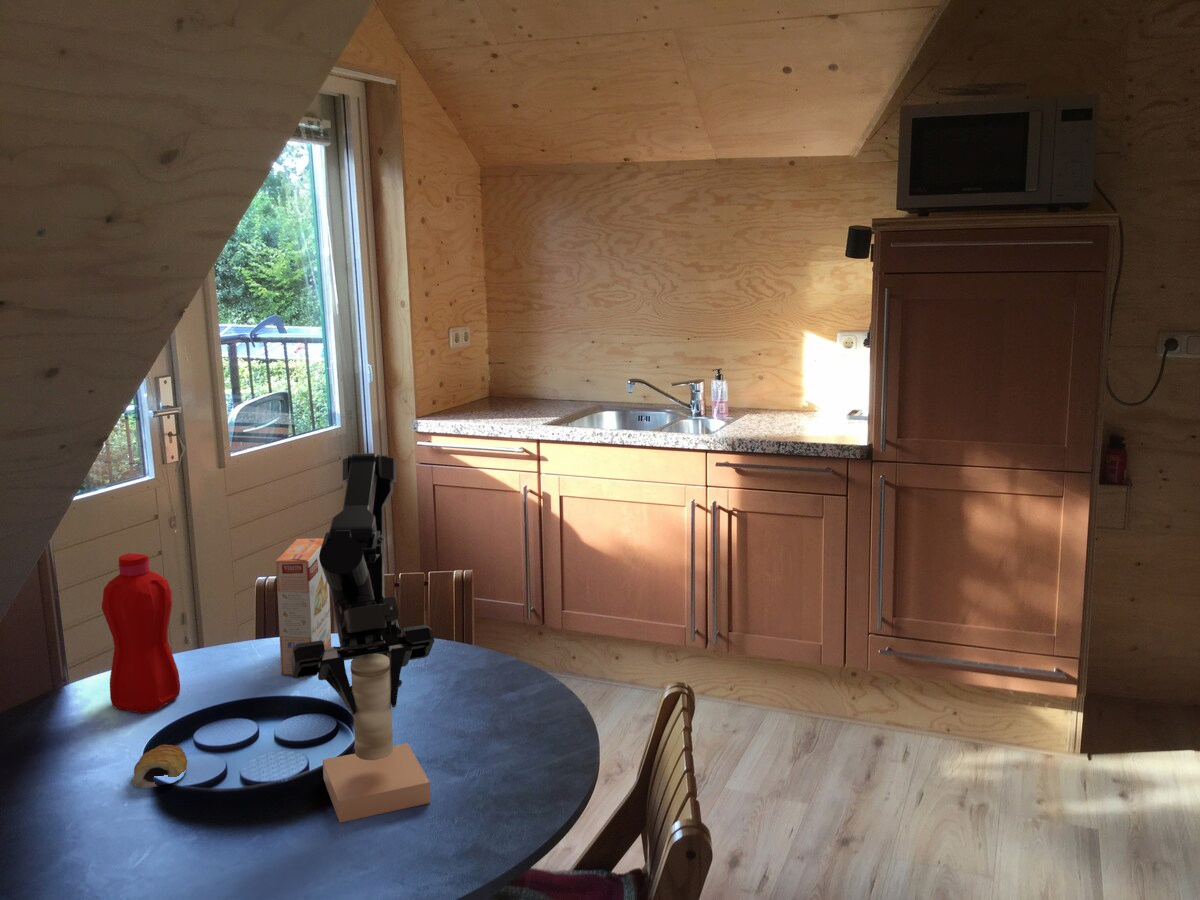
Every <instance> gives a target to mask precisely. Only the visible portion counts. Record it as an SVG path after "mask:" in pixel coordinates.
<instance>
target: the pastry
mask: <svg viewBox="0 0 1200 900" xmlns="http://www.w3.org/2000/svg"><path fill="white" fill-rule="evenodd" d="M187 767H188V758H187V755H186V753H185V752H184V749H183V748H182V747H181V746H180V745H178V744H177V745H173V744H160V745H158V746H156V747H155V748H152V749H150V750H149V751H147V752H144V754H143V755H141V757H140V758H139V760H138V762H136V764H135V766H134V768H133V775H134V776H133V778H132V784H133V785H134V786H136V788H138V789H141V788H142V789H150V788H155V787H158V786H157V785H156V784H155V782H154V780H153V777H154V776H164V775H168V777H177V776H179V775H180V774H181V773H182V772H184V771H185V770H186V769H187ZM186 771H187V770H186Z"/></svg>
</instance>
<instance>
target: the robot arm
mask: <svg viewBox="0 0 1200 900" xmlns="http://www.w3.org/2000/svg"><path fill="white" fill-rule="evenodd" d="M397 465H398V464H397V462H396V460H395V459H394V458H393V457H390V455H388V454H387V455H384V454H382V455H381V454H377V453H376V452H369V453H368V452H367V453H366V452H363V453H360V452H359V453H352V454H351V455H347V457H346V458H343V459H342V482H343V483H344V484H346V489H345V494H344V495H345V496H344V501H343V506H342V510H341V511H340V512H339V513H337V514H336V515H335V516H333V517H332V519H331V523H330V527H329V531H326V532H325V535H324V538H323V539H324V540H323V543H322V547H321V550H320V554H319V560H320V563H321V566H322V569H323V572H324V575H325V577H326V580H327V583H328V585H329V593H330V596H331V597H330V598H331V603H332V607H333V613H334V618H335V625H336V629H337V631H336V632H337V634H338V635H337V636H338V641H339V646H331V647H328V648H324V643H323V641H322V640H320V641H314V642H307V643H301V644H296V646H295V647H294V648H293V651H292V657H291V668H292V674H293V675H292V678H293V679H302V678H310V677H315V676H317V678H318V680H319V681H324V680H325V681H326V682H327V683H328V685H330V686H331V687H332V689H333V690H334V691H335V692H336V693H337V694H338V696H339V697H340V699H341V701H342V702H343V703H344V705H345V706H346V708H347V709H348V711H349V713H350V714H351V715H352V716H354V715H355V713H356V709H355V702H354V698H353V695H352V685H351V684H350V682H349V679H348V675H347V670H346V665H345V664H346V663H345V661H349V660H353V659H354V658H356V657H358V656H361V655H365V654H382V655H385V656H387V657H388V658H389V662H390V687H391V708H396V706H397V701H398V695H399V694H398V693H399V686H400V685H402V684H403V680H402V679H400V677H401V673H402V672H401V671H402V668H403V667H406V666H408V664H409V662H410V661H412V660H420V659H424V658H427V657H428V656H430V653H431V650H432V647H433V646H434V643H435V638H434V633H433V630H432V628H431V627H430V626H428V625H427V624H422V625H421V624H420V625H413V626H408V627H406V626H405V627H402V629H401V627H400V625H399V623H398V622H399V621H398V620H399V618H400V614H399V607H398V602H397V598H396V596H394V595H393V596H387V597H386V596H385V595H386V594H385V507H386V505H387V504H388V502H389V500H390V499H391V498H392V496H393V494H394V483H397V479H398V466H397Z"/></svg>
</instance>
